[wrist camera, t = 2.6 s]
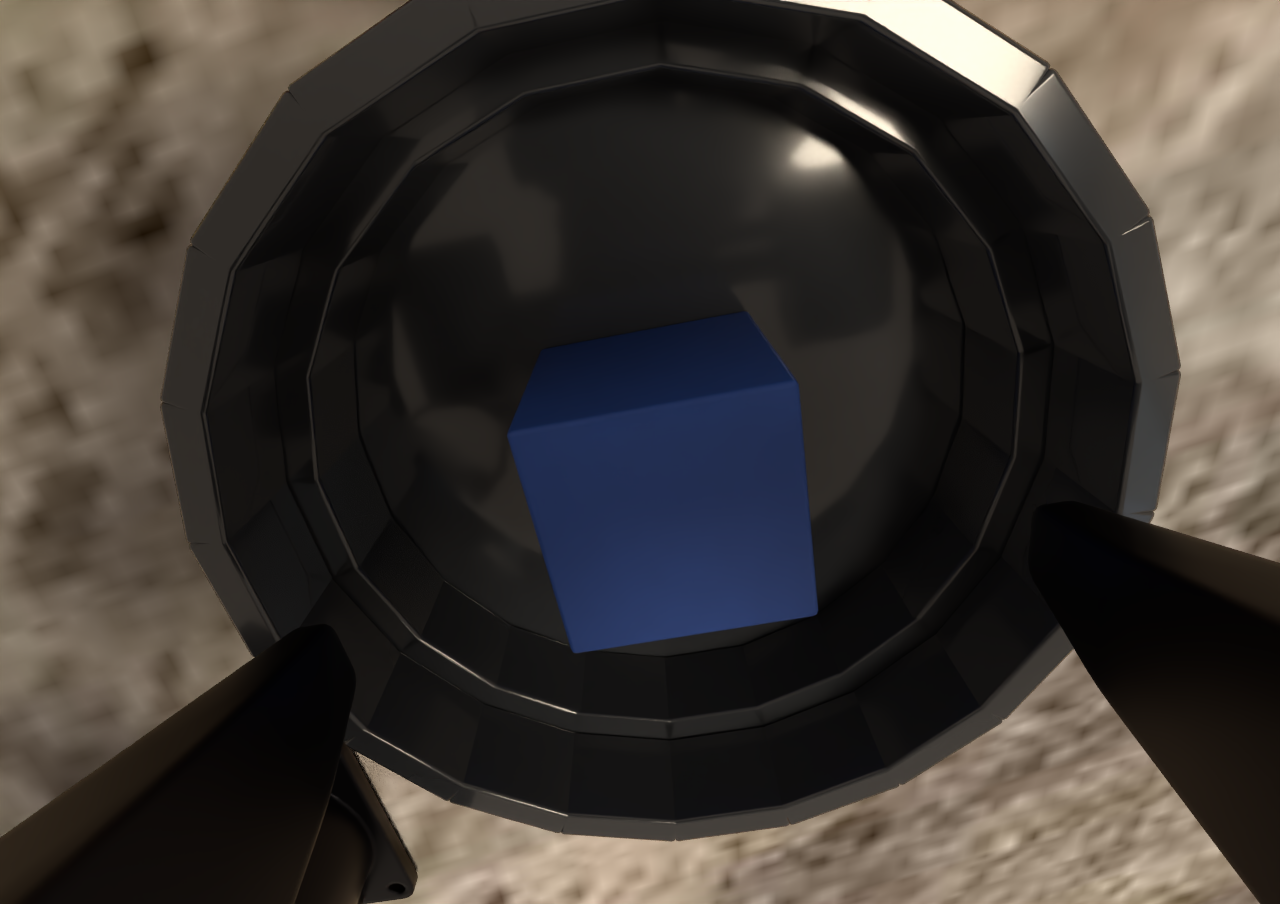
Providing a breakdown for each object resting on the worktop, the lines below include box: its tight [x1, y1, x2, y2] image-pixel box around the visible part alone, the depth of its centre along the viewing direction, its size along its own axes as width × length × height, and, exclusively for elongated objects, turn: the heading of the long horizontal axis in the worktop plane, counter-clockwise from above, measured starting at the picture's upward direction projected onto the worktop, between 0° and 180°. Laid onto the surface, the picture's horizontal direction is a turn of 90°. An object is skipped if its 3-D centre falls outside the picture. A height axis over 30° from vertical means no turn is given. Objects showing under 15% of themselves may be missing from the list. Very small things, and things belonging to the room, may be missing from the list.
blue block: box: [507, 311, 818, 653], centre depth 11 cm, size 4×4×4 cm
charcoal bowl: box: [160, 0, 1181, 841], centre depth 12 cm, size 14×14×4 cm
